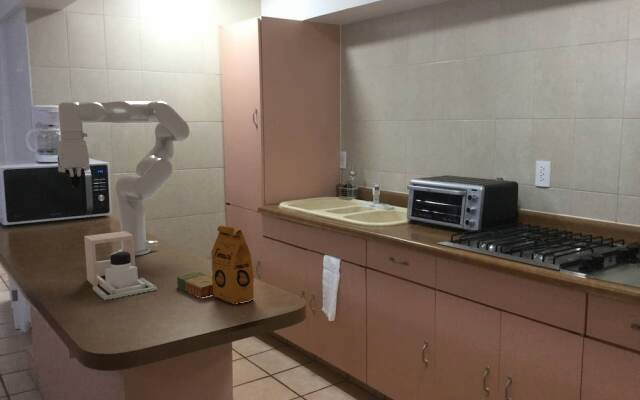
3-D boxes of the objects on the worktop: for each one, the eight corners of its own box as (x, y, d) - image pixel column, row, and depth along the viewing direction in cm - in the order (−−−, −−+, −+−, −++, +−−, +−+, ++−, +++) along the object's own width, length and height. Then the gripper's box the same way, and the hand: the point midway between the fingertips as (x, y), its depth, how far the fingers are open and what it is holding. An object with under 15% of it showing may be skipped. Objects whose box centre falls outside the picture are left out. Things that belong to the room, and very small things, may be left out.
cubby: (127, 273, 198) (125, 231, 195) (136, 279, 190) (133, 235, 188) (87, 280, 190) (84, 236, 188) (94, 286, 183) (91, 240, 180)
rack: (120, 272, 199) (119, 258, 198) (145, 289, 178) (144, 274, 178) (89, 277, 193) (89, 262, 192) (112, 295, 172) (111, 279, 172)
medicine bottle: (138, 288, 182) (136, 251, 180) (120, 294, 176) (118, 256, 174) (124, 284, 185) (122, 249, 184) (105, 290, 179) (103, 253, 178)
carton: (201, 300, 169) (200, 287, 168) (176, 288, 181) (176, 276, 180) (225, 294, 174) (224, 281, 174) (200, 283, 186) (199, 271, 186)
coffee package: (230, 308, 161) (227, 232, 157) (208, 298, 170) (206, 226, 167) (259, 301, 167) (257, 228, 164) (237, 291, 176) (235, 222, 173)
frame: (143, 280, 189) (143, 277, 189) (157, 290, 178) (157, 287, 178) (92, 289, 179) (92, 286, 179) (104, 300, 169) (104, 296, 169)
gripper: (90, 136, 212) (94, 184, 214) (47, 137, 203) (51, 187, 206) (96, 136, 206) (99, 186, 208) (51, 137, 197) (55, 189, 200)
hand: (75, 187), depth 207 cm, fingers closed
